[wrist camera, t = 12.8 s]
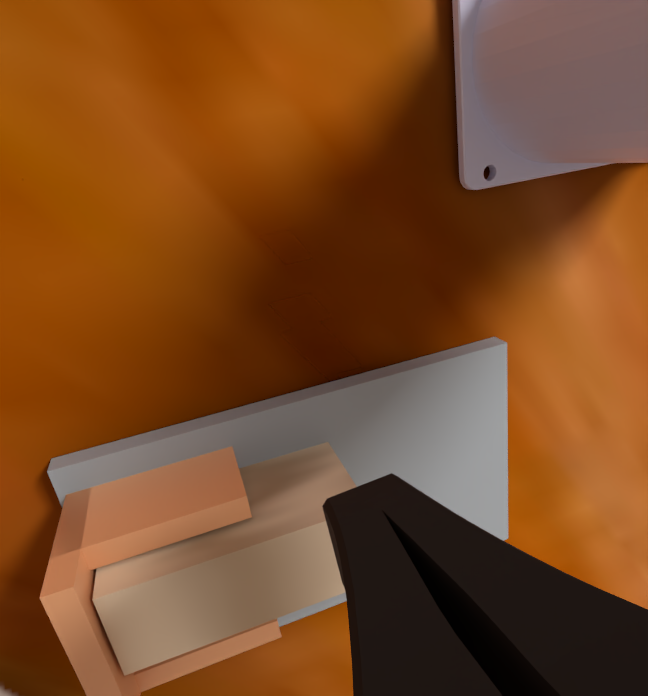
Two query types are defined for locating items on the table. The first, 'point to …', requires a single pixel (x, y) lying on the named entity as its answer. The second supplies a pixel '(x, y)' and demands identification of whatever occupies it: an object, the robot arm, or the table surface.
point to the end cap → (130, 540)
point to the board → (353, 435)
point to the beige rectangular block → (229, 566)
